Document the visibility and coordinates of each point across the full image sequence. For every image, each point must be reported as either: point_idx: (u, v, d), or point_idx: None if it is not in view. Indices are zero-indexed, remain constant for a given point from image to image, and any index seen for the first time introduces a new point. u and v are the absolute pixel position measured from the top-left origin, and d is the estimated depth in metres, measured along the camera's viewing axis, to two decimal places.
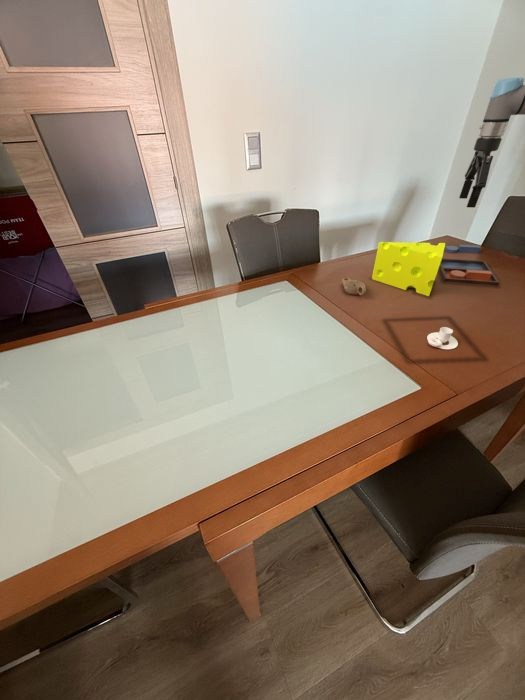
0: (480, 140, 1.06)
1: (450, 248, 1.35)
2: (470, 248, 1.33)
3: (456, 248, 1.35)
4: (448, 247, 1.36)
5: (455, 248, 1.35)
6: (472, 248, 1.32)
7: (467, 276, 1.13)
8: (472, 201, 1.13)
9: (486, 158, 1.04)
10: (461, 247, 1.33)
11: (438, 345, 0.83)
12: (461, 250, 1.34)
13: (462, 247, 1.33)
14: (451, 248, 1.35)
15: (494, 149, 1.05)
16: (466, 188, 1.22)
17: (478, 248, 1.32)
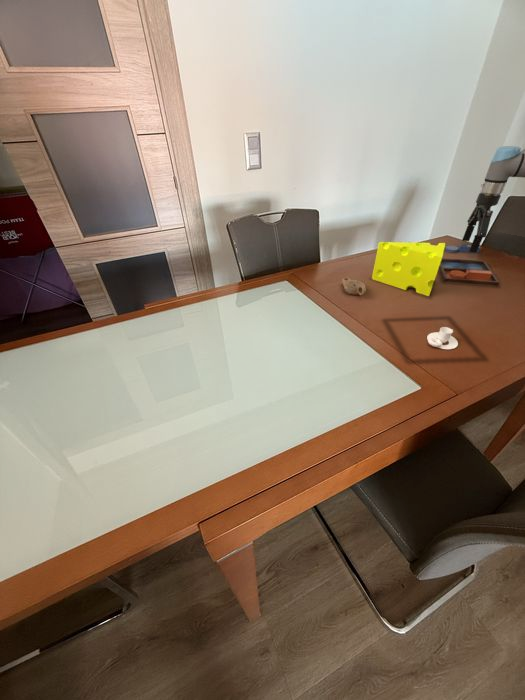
0: (482, 196, 1.19)
1: (450, 248, 1.35)
2: None
3: (456, 248, 1.35)
4: (448, 247, 1.36)
5: (455, 248, 1.35)
6: None
7: (467, 276, 1.13)
8: (473, 247, 1.27)
9: (487, 212, 1.18)
10: (461, 247, 1.33)
11: (438, 345, 0.83)
12: (461, 250, 1.34)
13: (462, 247, 1.33)
14: (451, 248, 1.35)
15: (494, 204, 1.19)
16: (468, 232, 1.36)
17: (478, 248, 1.32)
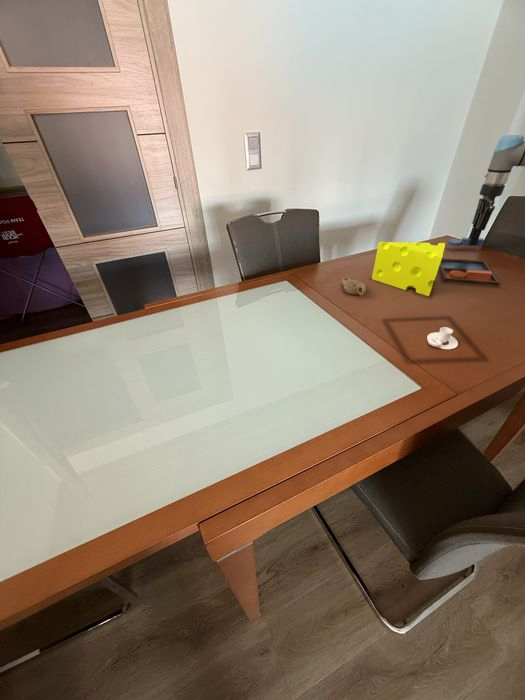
0: (485, 187, 1.17)
1: (453, 241, 1.33)
2: None
3: (459, 241, 1.33)
4: (451, 240, 1.34)
5: (458, 241, 1.33)
6: None
7: (467, 276, 1.13)
8: (473, 240, 1.30)
9: (488, 209, 1.18)
10: (464, 240, 1.31)
11: (438, 345, 0.83)
12: (464, 243, 1.32)
13: (465, 240, 1.31)
14: (454, 241, 1.33)
15: (498, 195, 1.17)
16: None
17: (482, 241, 1.30)
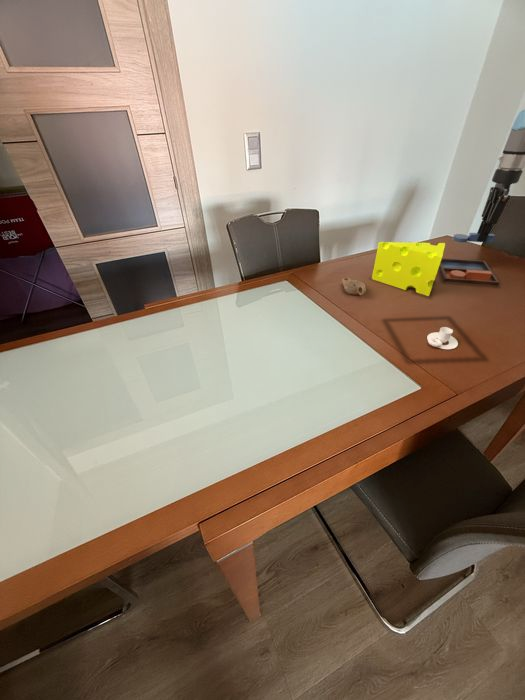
0: (499, 172, 0.99)
1: (459, 236, 1.15)
2: None
3: (466, 236, 1.15)
4: (457, 235, 1.16)
5: (465, 236, 1.15)
6: None
7: (467, 276, 1.13)
8: (482, 235, 1.12)
9: (502, 198, 1.00)
10: (472, 235, 1.13)
11: (438, 345, 0.83)
12: (472, 239, 1.14)
13: (473, 235, 1.13)
14: (460, 236, 1.15)
15: (514, 182, 0.99)
16: None
17: (492, 236, 1.12)
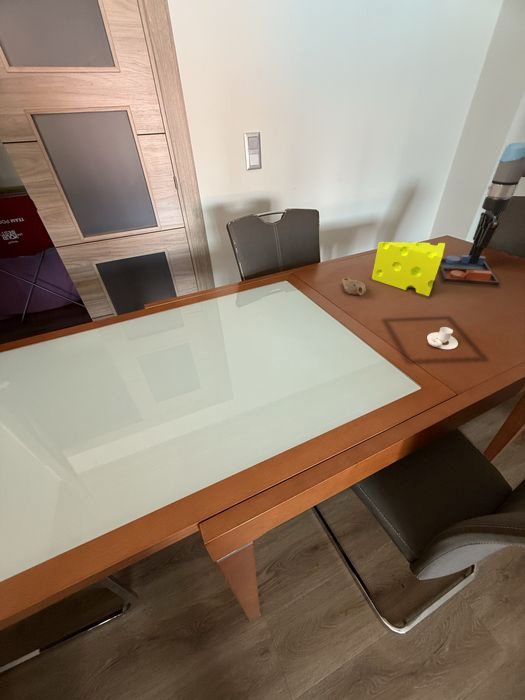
0: (489, 200, 1.04)
1: (451, 258, 1.20)
2: None
3: (458, 258, 1.20)
4: (449, 257, 1.21)
5: (457, 258, 1.20)
6: None
7: (467, 276, 1.13)
8: (473, 258, 1.17)
9: (492, 225, 1.05)
10: (464, 257, 1.18)
11: (438, 345, 0.83)
12: (464, 261, 1.19)
13: (465, 258, 1.18)
14: (452, 258, 1.20)
15: (503, 209, 1.04)
16: None
17: (483, 259, 1.17)
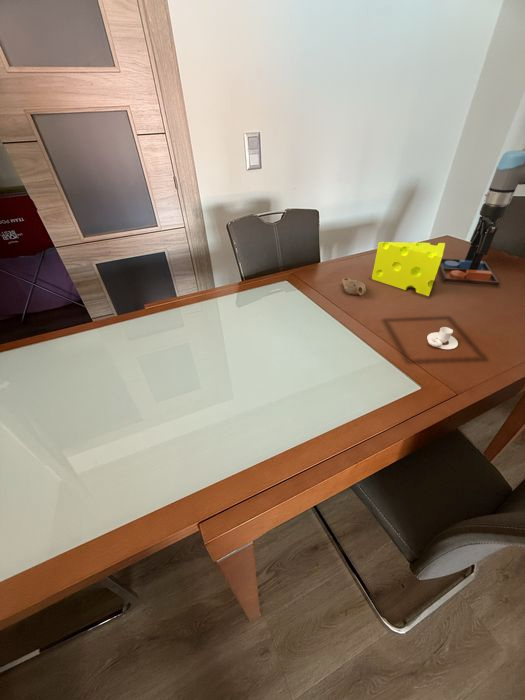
0: (486, 207, 1.06)
1: (450, 263, 1.21)
2: None
3: (456, 263, 1.21)
4: (447, 262, 1.22)
5: (455, 263, 1.21)
6: None
7: (467, 276, 1.13)
8: (474, 265, 1.16)
9: (490, 229, 1.05)
10: (462, 262, 1.20)
11: (438, 345, 0.83)
12: (462, 266, 1.20)
13: (463, 263, 1.19)
14: (450, 263, 1.21)
15: (500, 216, 1.05)
16: (471, 253, 1.21)
17: (481, 264, 1.18)
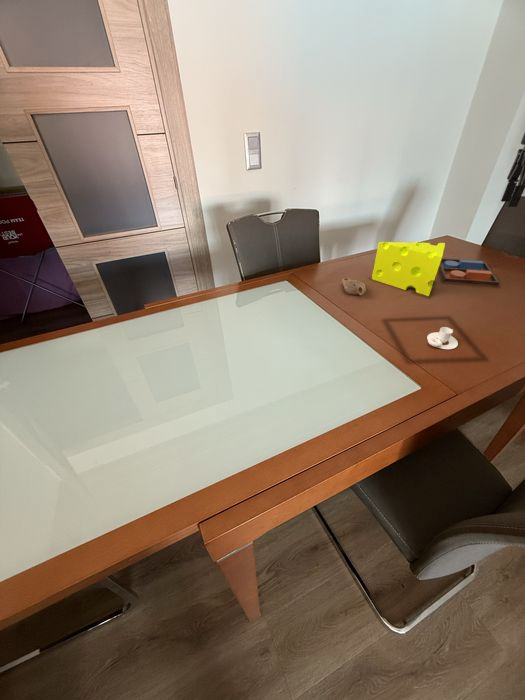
0: None
1: (450, 263, 1.21)
2: (472, 264, 1.19)
3: (456, 263, 1.21)
4: (447, 262, 1.22)
5: (455, 263, 1.21)
6: (474, 264, 1.19)
7: (467, 276, 1.13)
8: (514, 200, 1.11)
9: None
10: (462, 262, 1.20)
11: (438, 345, 0.83)
12: (462, 266, 1.20)
13: (463, 263, 1.19)
14: (450, 263, 1.21)
15: None
16: (509, 191, 1.16)
17: (481, 264, 1.18)
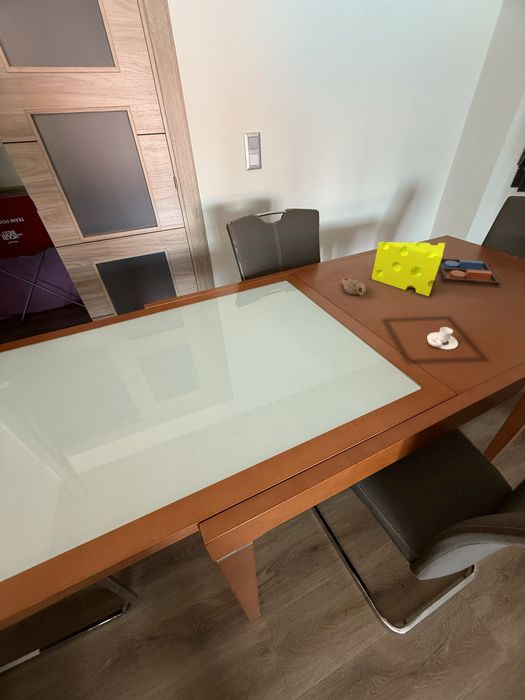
0: None
1: (450, 263, 1.21)
2: (472, 264, 1.19)
3: (456, 263, 1.21)
4: (447, 262, 1.22)
5: (455, 263, 1.21)
6: (474, 264, 1.19)
7: (467, 276, 1.13)
8: (523, 185, 1.13)
9: None
10: (462, 262, 1.20)
11: (438, 345, 0.83)
12: (462, 266, 1.20)
13: (463, 263, 1.19)
14: (450, 263, 1.21)
15: None
16: (519, 177, 1.18)
17: (481, 264, 1.18)
